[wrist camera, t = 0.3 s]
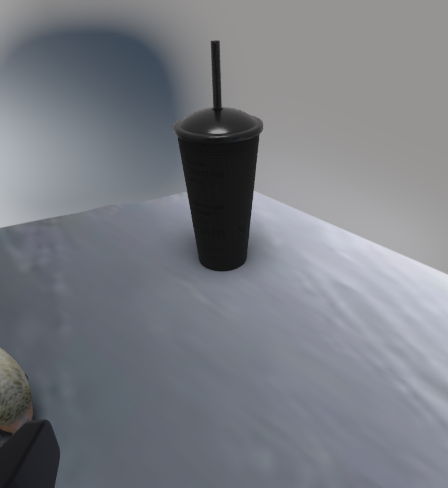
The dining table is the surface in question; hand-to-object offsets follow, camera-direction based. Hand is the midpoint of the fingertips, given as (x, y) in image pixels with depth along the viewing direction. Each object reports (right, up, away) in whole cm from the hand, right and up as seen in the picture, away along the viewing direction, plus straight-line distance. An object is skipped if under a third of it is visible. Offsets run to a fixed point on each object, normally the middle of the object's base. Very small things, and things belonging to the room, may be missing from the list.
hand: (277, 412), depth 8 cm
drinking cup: (-1, +2, +35) cm, 35 cm away
